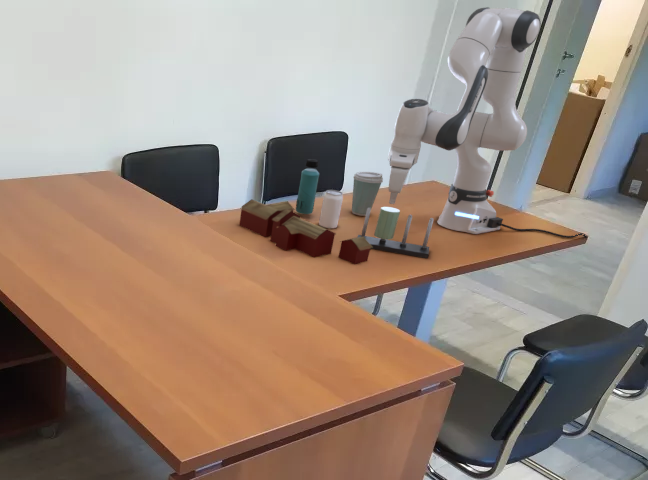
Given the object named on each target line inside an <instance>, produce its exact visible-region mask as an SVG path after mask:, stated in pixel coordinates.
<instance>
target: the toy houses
mask: <svg viewBox="0 0 648 480" xmlns="http://www.w3.org/2000/svg"><path fill="white" fill-rule="evenodd" d="M239 209H241V210H240V217H239V226H240V227H243V228H244V229H247V230H249V231H251V232H253V233H255V234H257V235H260V236H262V237H264V238H269V237H270V242H272V243H275V247H277V248H279V249H281V250H284V251H286V252H287V251H291V250H297V251H299V252H301V253H303V254H306V255H308V256H310V257H312V258H317V257H322V256H326V255H331V254H332V251H333V246H334V242H335V241H334V240H335V236H336V233H335V232H333V231H331V230H330V229H328V228H323V227H321V226H320V225H318V224H315V223H313V222H310V221H308V220H305V219H303V218H302V216H301V215H299V213H297V212H296V213H295V212H294V211H296V208H295V207H294V206H292V204H291V203H290V202H289V201H287V200H285V201H280V202H275V203H269V204H264V203H262V202H259V201H257V200H254V199H250V200H248V201H247V202H246V203H244V204H243V205H242V206H241V207H240V208H239ZM357 237H358V236H357ZM357 237H352V238H347V239H343V240H339V242H340V248H339V252H338V258H339V259H342V260H344V261H346V262H348V263H350V264H352V265H357V264H361V263H365V262H368V260H369V255H370V251H371V247H372V246H371V245H370V244H369V242H368V241H367V240H366V239H365V238H364V237H358V238H357ZM372 248H373V247H372Z"/></svg>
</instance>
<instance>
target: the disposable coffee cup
mask: <svg viewBox="0 0 648 480" xmlns="http://www.w3.org/2000/svg"><path fill="white" fill-rule="evenodd" d="M383 181H384V178H383V173H380V172H375V171H358V172H356V173H354V176H353V185H352V187H353V188H352V199H351V214H353V215H357V216H360V217H361V216H363V217H365V216H366V212H367V209H368V208H370V209H371V210H372V208H373V206H374V203H375V201H376V198H377V196H378V193H379V190H380V188H381V185H382V183H383Z"/></svg>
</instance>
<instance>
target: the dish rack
mask: <svg viewBox="0 0 648 480" xmlns="http://www.w3.org/2000/svg"><path fill="white" fill-rule="evenodd" d="M371 211H372V209H370V208H368V209H367V212H366V216H364V222H363V226H362V230H361V234H357V237H356V238H358V237H364V238H365V239H366V240H367V241H368V242H369V244H370V245H371V246H372V247H373V248H372V247H371V248H370V250H371V249H372V250H376V251H377V250H378V251H382V252H383V251H384V252H388V253H393V254H400V255H406V256H410V257H411V256H412V257H416V258H417V257H418V258H423V259H429V255H430V246H428V242H429V238H430V234H431V231H432V227H433V223H434V217H430V218H429V221H428V223H427V228H426V231H425V235H424V239H423V241H422V245H420V244H415V243H409V242H407V239H408V236H409V231H410V228H411V223H412V220H413V215H412V214H409V215H408V216H407V219H406V224H405V228H404V231H403V236H402V240H401V241H397V240H393V239H381V238H378V237H376V236H368V235H366V233H367V228H368V224H369V220H370V215H371Z"/></svg>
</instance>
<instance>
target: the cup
mask: <svg viewBox="0 0 648 480" xmlns="http://www.w3.org/2000/svg"><path fill="white" fill-rule="evenodd" d="M400 212H401V210H400V209H398V208H397V207H392V206H381V207H380V209H379V213H378V217H377V220H376V225H375V228H374V233H373V235H374V236H373V237H375V238H380V239H386V240H393V239H394V236H395V233H396V230H397V225H398V221H399V218H400V214H401V213H400Z"/></svg>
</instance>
